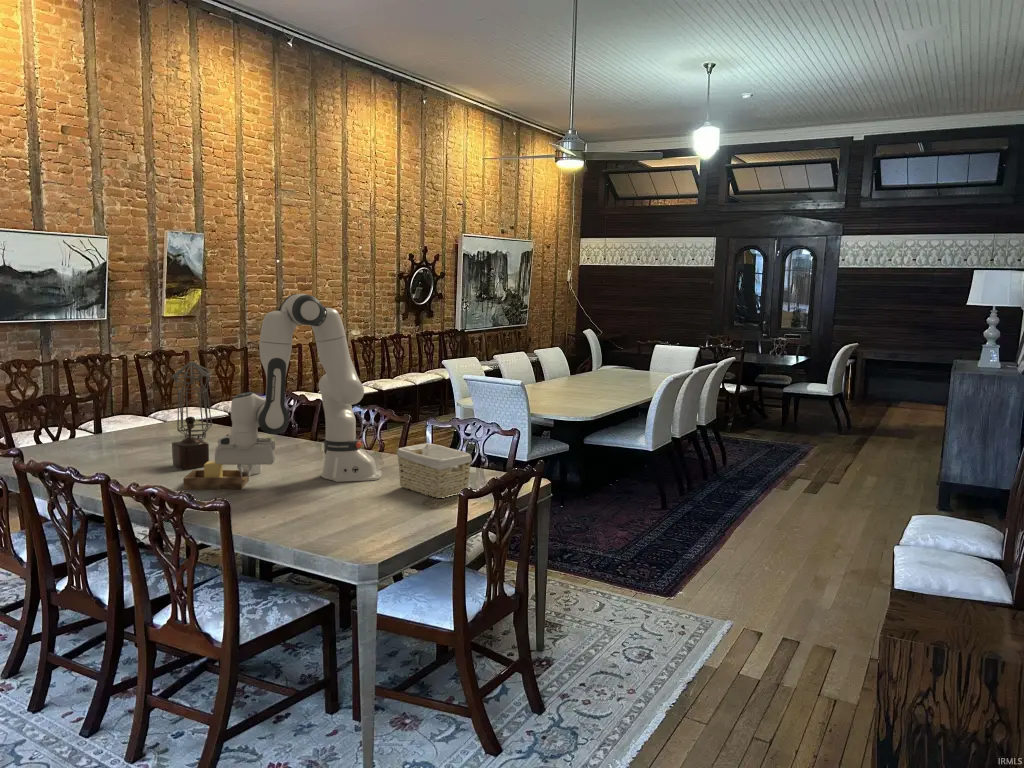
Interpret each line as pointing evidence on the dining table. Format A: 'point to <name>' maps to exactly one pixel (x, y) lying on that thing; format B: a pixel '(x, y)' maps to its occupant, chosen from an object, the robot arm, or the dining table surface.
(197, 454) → the dark brown knobbed box
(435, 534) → the dining table surface
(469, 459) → the storage basket
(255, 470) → the jar
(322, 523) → the dining table surface
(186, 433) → the geometric lantern
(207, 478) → the wooden tray
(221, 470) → the block
